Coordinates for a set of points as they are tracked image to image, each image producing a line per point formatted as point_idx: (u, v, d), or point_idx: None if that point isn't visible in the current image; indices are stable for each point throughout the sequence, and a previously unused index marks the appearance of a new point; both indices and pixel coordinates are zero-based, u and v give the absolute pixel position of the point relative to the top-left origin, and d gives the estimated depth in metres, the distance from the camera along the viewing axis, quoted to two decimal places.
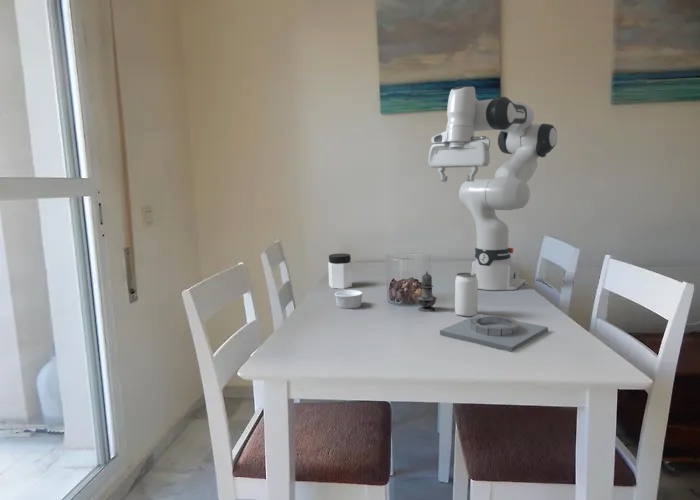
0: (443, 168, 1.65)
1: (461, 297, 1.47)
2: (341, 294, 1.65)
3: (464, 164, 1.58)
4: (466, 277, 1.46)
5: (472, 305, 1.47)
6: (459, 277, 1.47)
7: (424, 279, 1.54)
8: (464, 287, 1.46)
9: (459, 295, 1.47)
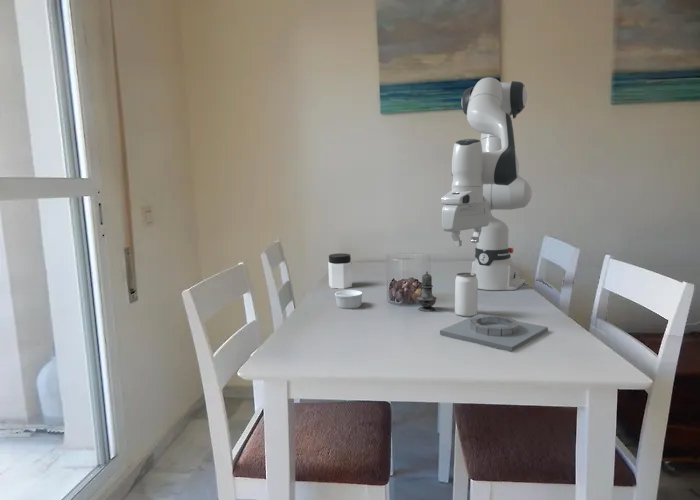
0: None
1: (461, 297, 1.47)
2: (341, 294, 1.65)
3: (477, 226, 1.47)
4: (466, 277, 1.46)
5: (472, 305, 1.47)
6: (459, 277, 1.47)
7: (424, 279, 1.54)
8: (464, 287, 1.46)
9: (459, 295, 1.47)
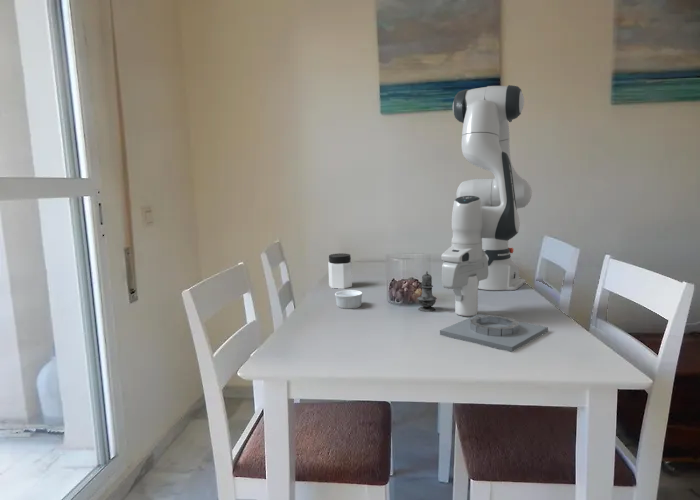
0: None
1: None
2: (341, 294, 1.65)
3: None
4: None
5: (473, 305, 1.47)
6: None
7: (424, 279, 1.54)
8: (465, 287, 1.46)
9: None
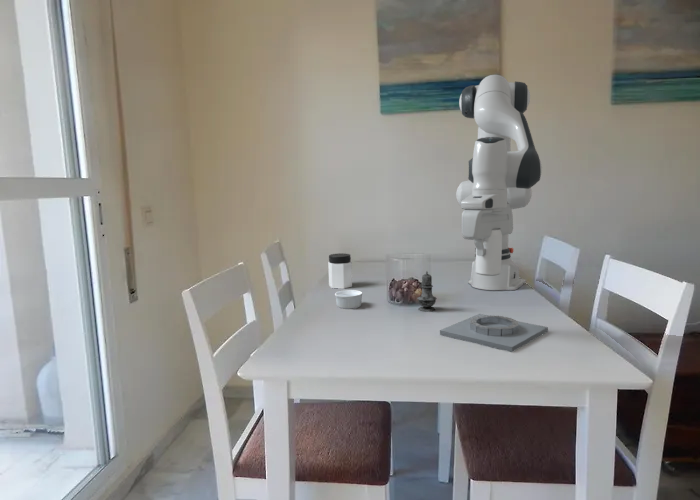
0: None
1: None
2: (341, 294, 1.65)
3: None
4: None
5: (497, 263, 1.30)
6: None
7: (424, 279, 1.54)
8: (488, 242, 1.29)
9: None
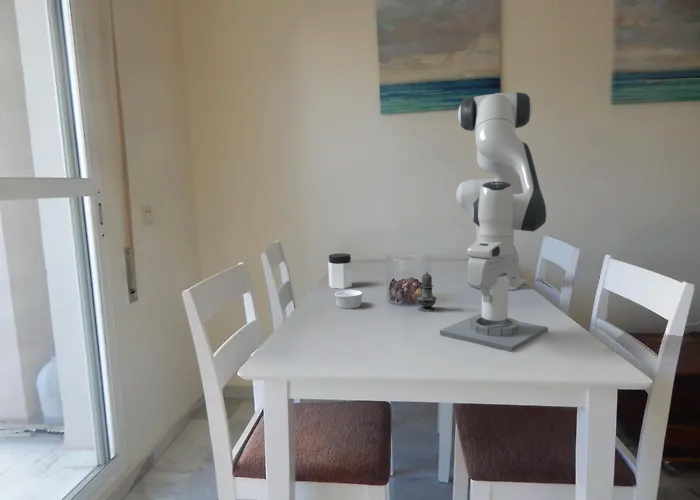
0: None
1: None
2: (341, 294, 1.65)
3: None
4: None
5: (503, 309, 1.29)
6: None
7: (424, 279, 1.54)
8: (495, 288, 1.27)
9: None
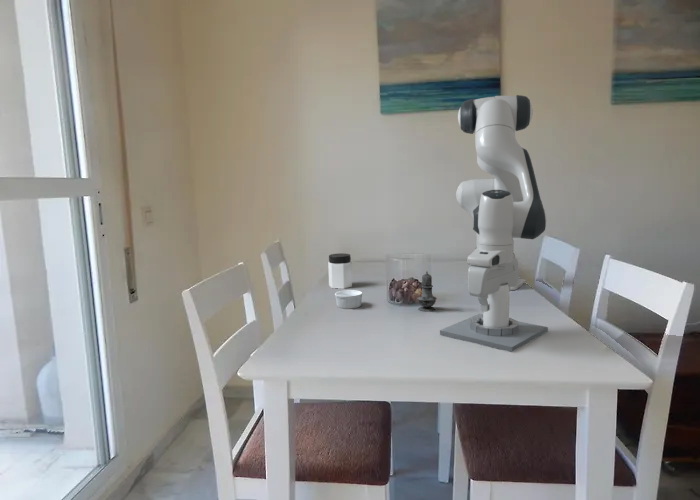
0: None
1: (493, 308, 1.29)
2: (341, 294, 1.65)
3: None
4: None
5: (505, 318, 1.30)
6: None
7: (424, 279, 1.54)
8: (496, 297, 1.29)
9: (490, 307, 1.30)
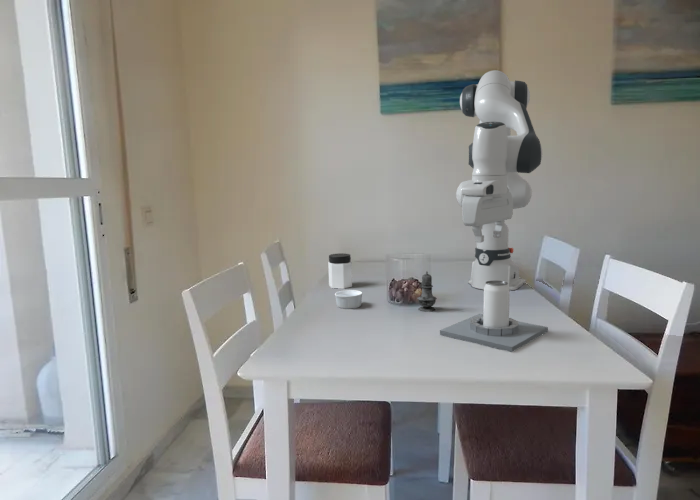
0: None
1: (493, 308, 1.29)
2: (341, 294, 1.65)
3: (501, 219, 1.32)
4: (498, 286, 1.29)
5: (505, 318, 1.30)
6: (489, 286, 1.30)
7: (424, 279, 1.54)
8: (496, 297, 1.29)
9: (490, 307, 1.30)
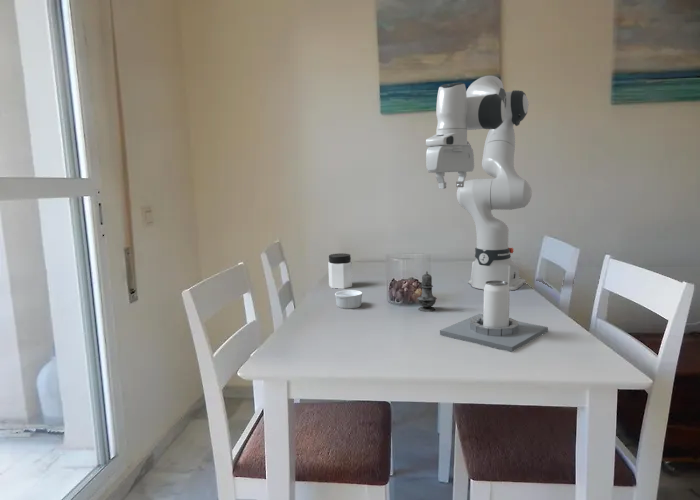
0: None
1: (493, 308, 1.29)
2: (341, 294, 1.65)
3: (462, 170, 1.50)
4: (498, 286, 1.29)
5: (505, 318, 1.30)
6: (489, 286, 1.30)
7: (424, 279, 1.54)
8: (497, 297, 1.29)
9: (490, 307, 1.30)
